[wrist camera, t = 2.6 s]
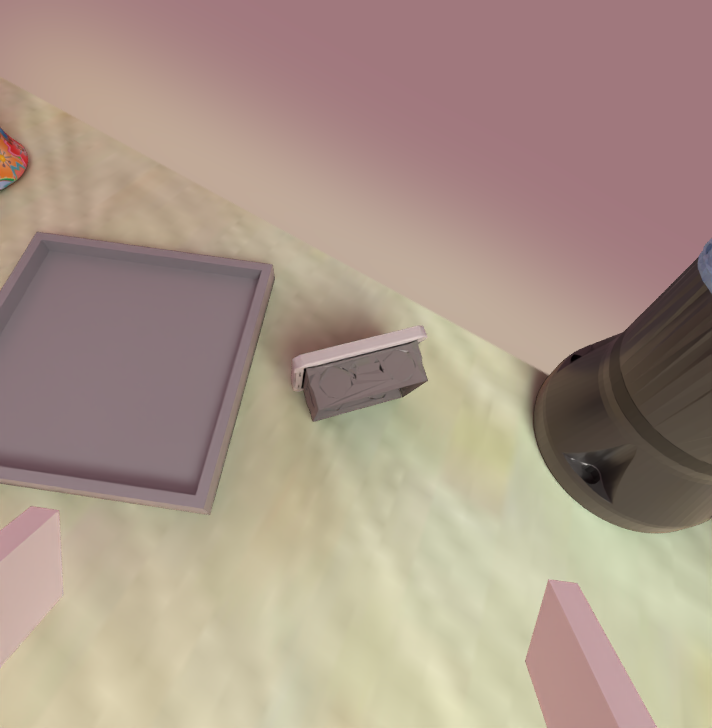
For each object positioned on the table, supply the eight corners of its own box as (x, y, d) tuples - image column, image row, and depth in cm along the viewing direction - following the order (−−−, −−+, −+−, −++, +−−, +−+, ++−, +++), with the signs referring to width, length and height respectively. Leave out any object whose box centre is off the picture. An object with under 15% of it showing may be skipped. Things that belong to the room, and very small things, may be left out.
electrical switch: (396, 356, 42) (417, 301, 33) (417, 411, 40) (444, 368, 31) (290, 384, 40) (283, 333, 31) (306, 443, 38) (304, 406, 29)
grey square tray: (274, 278, 45) (272, 264, 43) (209, 514, 34) (203, 509, 33) (48, 247, 45) (36, 231, 43) (-84, 470, 35) (-105, 462, 33)
